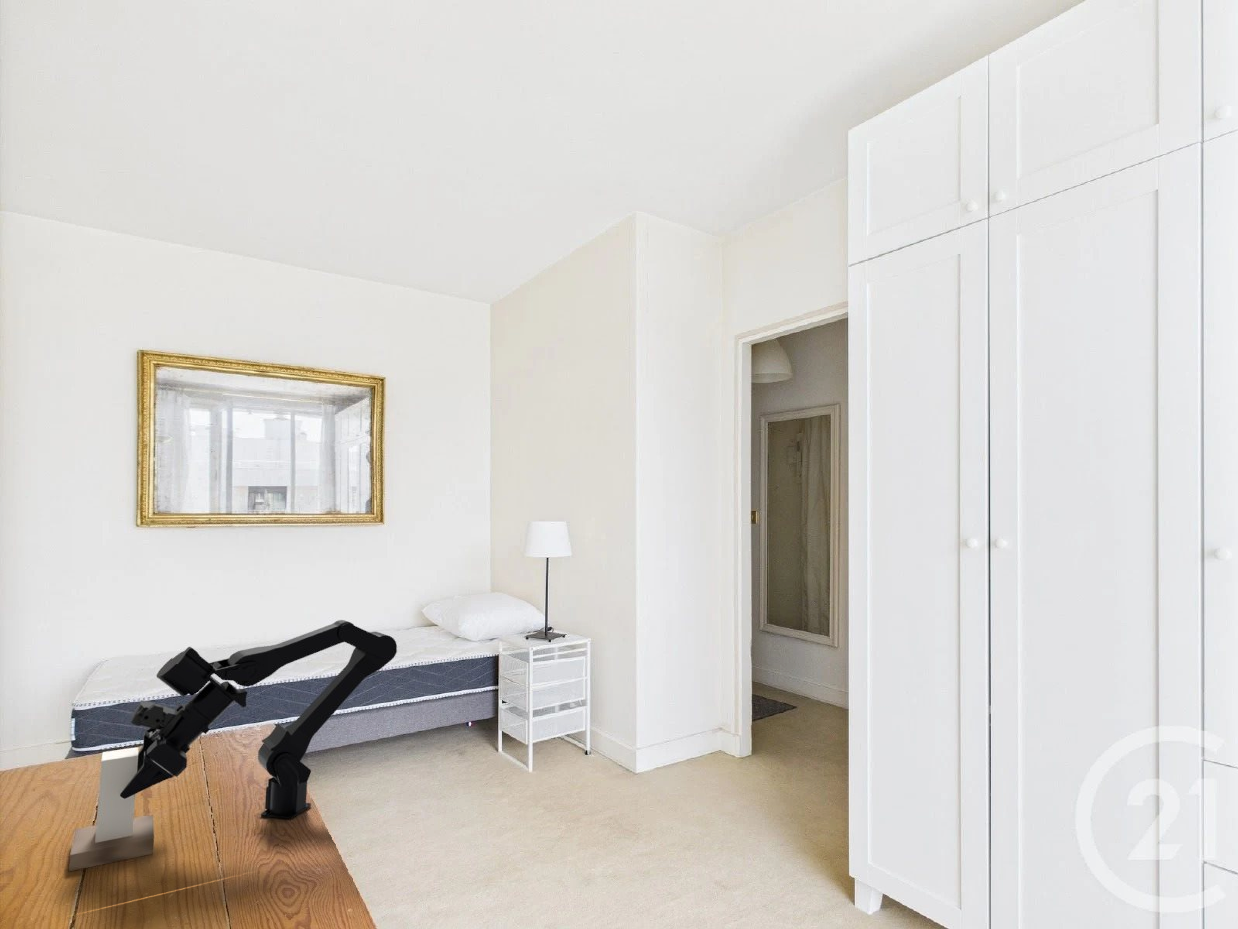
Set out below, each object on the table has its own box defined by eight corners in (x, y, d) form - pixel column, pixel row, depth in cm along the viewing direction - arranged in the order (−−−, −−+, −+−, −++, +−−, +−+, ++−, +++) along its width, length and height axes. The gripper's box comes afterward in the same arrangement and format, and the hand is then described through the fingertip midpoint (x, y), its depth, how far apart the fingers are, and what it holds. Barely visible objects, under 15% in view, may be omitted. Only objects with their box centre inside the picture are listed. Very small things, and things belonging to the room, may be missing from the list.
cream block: (132, 824, 120) (138, 747, 121) (132, 835, 116) (138, 755, 117) (96, 831, 117) (102, 752, 118) (95, 843, 113) (101, 761, 114)
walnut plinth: (151, 829, 124) (152, 814, 124) (152, 853, 115) (154, 838, 115) (74, 844, 118) (75, 829, 118) (68, 871, 109) (70, 855, 109)
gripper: (164, 673, 130) (86, 744, 123) (167, 694, 114) (78, 777, 107) (210, 710, 134) (137, 781, 126) (219, 735, 118) (137, 818, 111)
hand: (122, 788), depth 118 cm, fingers open, 9 cm apart
